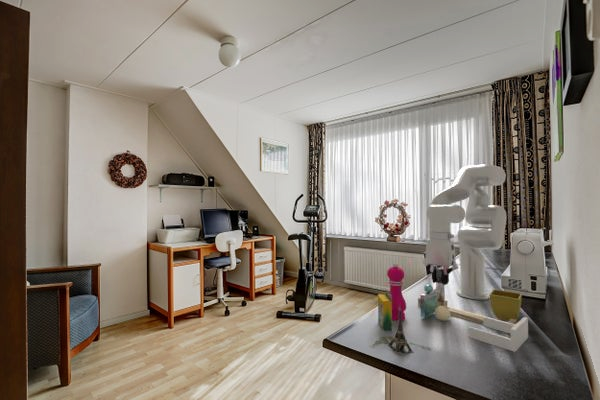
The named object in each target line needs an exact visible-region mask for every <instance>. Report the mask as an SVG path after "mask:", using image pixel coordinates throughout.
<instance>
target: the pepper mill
mask: <svg viewBox="0 0 600 400" xmlns="http://www.w3.org/2000/svg"><path fill="white" fill-rule="evenodd" d="M386 275H387V278H389V279H388V284H389V293H390V294H391V295H392V321H398V318H399V307H401V319H402V321H404V320H405V319H406V313H405V311H406V309H407V303H406V300H405V297H404V295H403V292H402V286H403V285H404V280H403V279H404V278H405V271H404V270H403V268H401V267H399V264H398V262H393V264H392V266H391V267H389V268H388V269H387V272H386ZM387 295H388V296H389V297H390V295H389V294H387Z"/></svg>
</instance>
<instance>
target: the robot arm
mask: <svg viewBox="0 0 600 400" xmlns="http://www.w3.org/2000/svg"><path fill="white" fill-rule="evenodd" d="M505 182H506V172H505V170H504V168H502V167H501V166H497V165H494V164H488V163H485V164H477V165H475V164H474V165H467V166H463V167H461V168H460V169H459V170H458V172H457V174H456V175H455V177H454V179H453V182H452V183H451V185H450V186H449V187H447V188H445V189H443V190H442V191H441V192H439V193H437V194H436V195H435V196H434V197H433V198H432V199H431V201H430V203H429V204H428V206H427V209H426V218H427V220H428V231H429V232H428V234H429V235H428V239H427V240H426V247H425V258H424V260H423V261H422V264H423V265H424V266H426V267H427V268H428V269H429V271H430V273H431V280H432V283H433V284H436V268H438V266H439V267H442V268H443V270H444V274H443V275H442V281H443V285H444V286H445V285H448V284H449V282H450V274H452V272H454V271H455V270H458V269H459V271H460V274H459V275H460V277H459V279H460V280H459V281H460V289H458V290H456V295H458V296H460V297H462V298H466V299H470V300H478V301H479V300H484V301H485V300H489V299H490V295H489V294H488V293H486V289H485V288H486V284H485V281H486V279H485V277H486V276H485V275H486V274H485V258H484V257H485V256H484V255H483V253H482V251H481V250H480V249H486V250H499V249H501V248H502V247H503V243H504V240H505V239H504V238H505V232H506V224H507V212H506V209H505V208H504V207H502V206H501V205H494V204H493V205H491V204H490V199H491V198H490V195H489V194H488V193H487V192H486V191H485V189H483V188H482V187H494V186H495V187H496V186H502V185H503V184H504V183H505ZM467 199H468V201H467V205H466V210H465V209H464V208H463V207H462V206H461V205H459V204H454V203H458V202H461V201H465V200H467ZM464 220H465V222H466V223H467V224H468V225H469V226H468V225H465V226H462V227H460V228H459V229H458V231H457V241H458V246H459V266H458V264H457V261H456V259H457V258H456V250H455V244H454V241H453V240H452V239H454V238H455V234H452V232H451V224H459V223H461V222H463V221H464Z"/></svg>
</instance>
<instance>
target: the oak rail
mask: <svg viewBox="0 0 600 400" xmlns="http://www.w3.org/2000/svg"><path fill="white" fill-rule="evenodd" d="M417 306H418V307H420V308H421V297H419V298H417ZM436 307H438V306H436ZM446 308H447V309H448V310H449V311H450V316H452V317H453V316H454V317H456V318H461V319H464V320H467V321H471V322H475V323H478V324H481V325H483V317H484V316H485V315H481V314H477V313H473V312H470V311H466V310H462V309H458V308H455V307H450V306H447V307H446ZM485 317H487V316H485ZM507 322H508V323H512V324H517V319H516V320H514V319H510V320H509V321H507Z"/></svg>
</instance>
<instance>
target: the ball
mask: <svg viewBox="0 0 600 400" xmlns="http://www.w3.org/2000/svg"><path fill="white" fill-rule="evenodd" d="M434 316H435V317H436V319H438V320H439V321H443V322H444V321H445V322H446V321H448V320H450V317H451V315H450V311H449V310H448V309H447V308H446V307H444V306H438V307H436V309H435V313H434Z"/></svg>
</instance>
